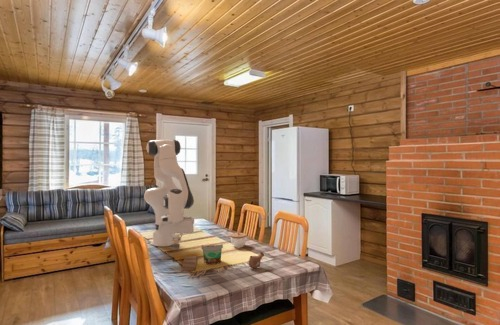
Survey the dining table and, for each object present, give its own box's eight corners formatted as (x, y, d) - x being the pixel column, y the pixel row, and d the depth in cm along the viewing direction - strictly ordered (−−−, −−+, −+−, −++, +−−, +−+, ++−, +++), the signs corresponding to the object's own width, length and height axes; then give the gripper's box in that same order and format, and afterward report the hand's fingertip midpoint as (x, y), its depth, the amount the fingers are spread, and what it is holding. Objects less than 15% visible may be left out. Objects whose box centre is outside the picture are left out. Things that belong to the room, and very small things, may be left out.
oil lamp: (262, 265, 168) (262, 250, 168) (265, 267, 165) (265, 252, 165) (247, 267, 165) (247, 252, 165) (250, 270, 161) (250, 255, 161)
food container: (202, 266, 168) (202, 247, 168) (201, 262, 174) (201, 244, 174) (225, 263, 172) (224, 245, 171) (223, 260, 178) (222, 242, 177)
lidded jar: (227, 247, 203) (227, 233, 202) (235, 243, 212) (235, 229, 212) (241, 249, 198) (241, 234, 197) (249, 245, 207) (249, 231, 207)
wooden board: (184, 258, 181) (184, 257, 181) (196, 258, 182) (196, 256, 182) (181, 271, 161) (181, 269, 161) (195, 270, 162) (195, 268, 162)
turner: (173, 240, 187) (173, 235, 187) (181, 240, 188) (181, 235, 188) (170, 249, 172) (170, 243, 171) (178, 248, 172) (178, 243, 172)
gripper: (194, 215, 185) (194, 238, 186) (159, 216, 183) (159, 239, 184) (193, 218, 179) (194, 241, 180) (157, 218, 177) (157, 242, 177)
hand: (176, 240), depth 182 cm, fingers closed on turner, 2 cm apart
